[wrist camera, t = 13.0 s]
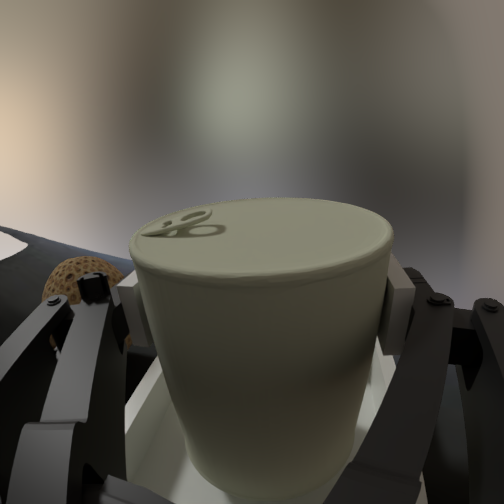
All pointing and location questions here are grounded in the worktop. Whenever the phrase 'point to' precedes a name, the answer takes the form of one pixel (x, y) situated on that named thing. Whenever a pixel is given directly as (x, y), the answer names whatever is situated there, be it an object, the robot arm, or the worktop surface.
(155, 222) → the can
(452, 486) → the worktop surface
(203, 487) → the tray
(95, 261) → the natural sponge
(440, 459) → the worktop surface
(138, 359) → the worktop surface
